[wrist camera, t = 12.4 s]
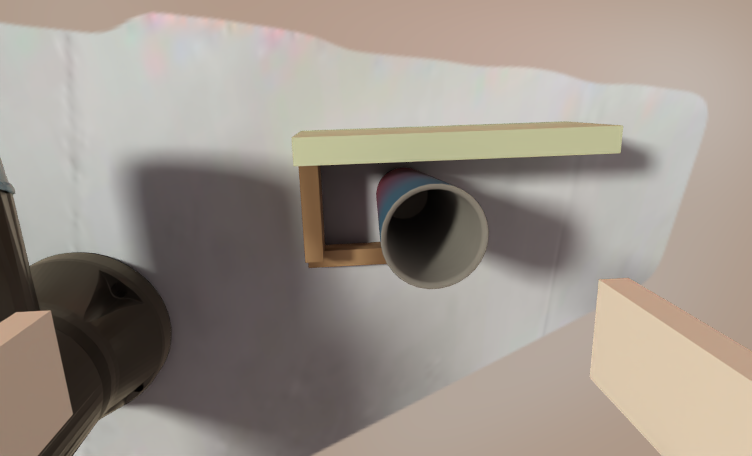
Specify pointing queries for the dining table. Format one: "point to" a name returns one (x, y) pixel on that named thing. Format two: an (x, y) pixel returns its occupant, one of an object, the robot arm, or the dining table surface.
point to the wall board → (454, 142)
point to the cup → (429, 229)
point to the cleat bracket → (314, 230)
